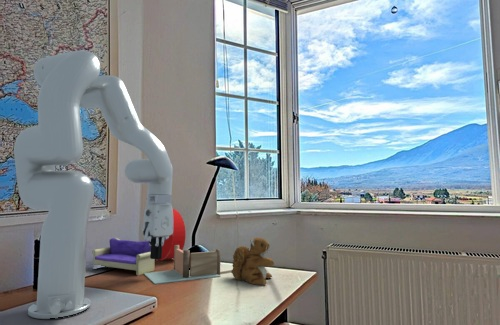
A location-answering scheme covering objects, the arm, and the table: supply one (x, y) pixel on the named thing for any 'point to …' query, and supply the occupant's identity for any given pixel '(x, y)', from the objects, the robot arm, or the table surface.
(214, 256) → the fixed panel
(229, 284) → the table surface
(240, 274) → the stuffed squirrel
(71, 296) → the robot arm
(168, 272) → the mat
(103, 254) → the toy sofa
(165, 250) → the red thick disc
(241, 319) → the table surface
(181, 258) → the panel
